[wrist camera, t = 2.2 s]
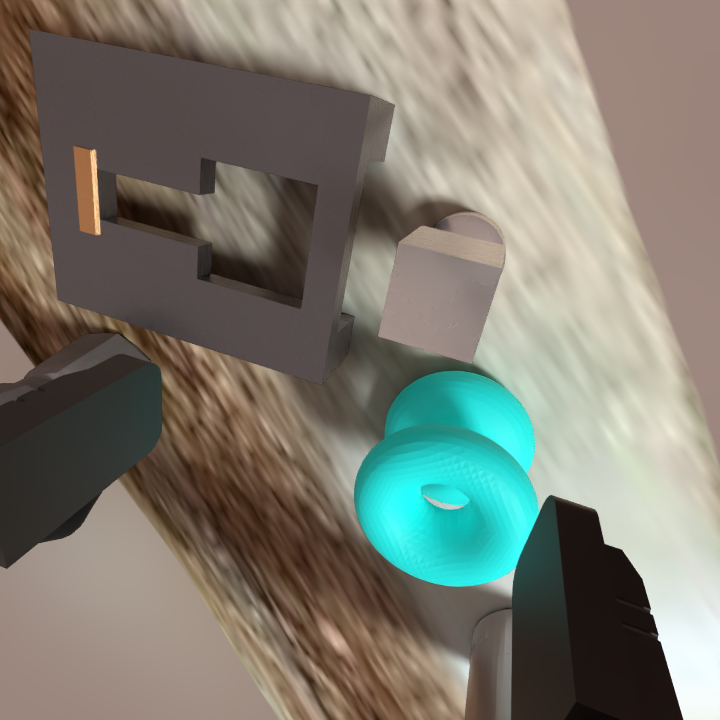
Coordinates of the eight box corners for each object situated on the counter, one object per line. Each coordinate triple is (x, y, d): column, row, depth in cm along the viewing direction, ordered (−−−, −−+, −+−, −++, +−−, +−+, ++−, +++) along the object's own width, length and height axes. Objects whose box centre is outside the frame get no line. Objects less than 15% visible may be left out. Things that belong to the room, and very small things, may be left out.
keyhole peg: (517, 221, 27) (516, 260, 17) (491, 299, 29) (478, 375, 19) (436, 202, 28) (390, 229, 18) (417, 280, 30) (367, 342, 20)
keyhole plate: (394, 105, 27) (369, 94, 22) (346, 355, 34) (320, 386, 29) (99, 47, 31) (25, 28, 26) (111, 283, 38) (55, 300, 33)
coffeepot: (58, 394, 45) (-195, 526, 29) (55, 303, 40) (-244, 399, 25) (200, 459, 42) (11, 641, 27) (213, 370, 38) (-3, 524, 22)
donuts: (388, 604, 28) (318, 464, 26) (419, 497, 37) (369, 385, 34) (565, 592, 24) (502, 423, 21) (552, 475, 33) (507, 345, 30)
